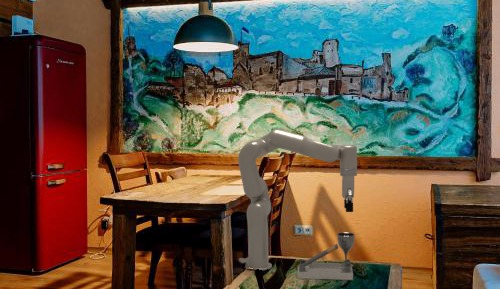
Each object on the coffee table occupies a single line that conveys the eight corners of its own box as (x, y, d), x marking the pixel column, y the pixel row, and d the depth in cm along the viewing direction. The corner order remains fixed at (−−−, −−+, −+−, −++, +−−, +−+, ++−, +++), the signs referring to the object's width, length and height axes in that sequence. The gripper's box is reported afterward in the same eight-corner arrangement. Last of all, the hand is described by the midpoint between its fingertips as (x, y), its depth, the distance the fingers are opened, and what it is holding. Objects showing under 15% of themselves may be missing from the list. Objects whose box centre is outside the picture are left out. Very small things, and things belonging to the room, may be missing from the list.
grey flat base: (297, 278, 241) (297, 262, 240) (298, 272, 251) (298, 256, 250) (353, 280, 238) (352, 264, 237) (351, 273, 248) (351, 258, 247)
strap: (302, 268, 243) (301, 265, 243) (303, 264, 248) (301, 262, 248) (338, 248, 240) (337, 246, 240) (338, 245, 245) (336, 243, 245)
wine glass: (355, 267, 257) (355, 235, 256) (338, 267, 257) (338, 236, 256) (352, 263, 265) (352, 232, 264) (336, 263, 265) (336, 232, 264)
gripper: (338, 170, 256) (339, 206, 257) (341, 174, 239) (341, 213, 240) (355, 170, 256) (355, 206, 257) (358, 174, 238) (358, 213, 239)
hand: (348, 210), depth 248 cm, fingers open, 9 cm apart
